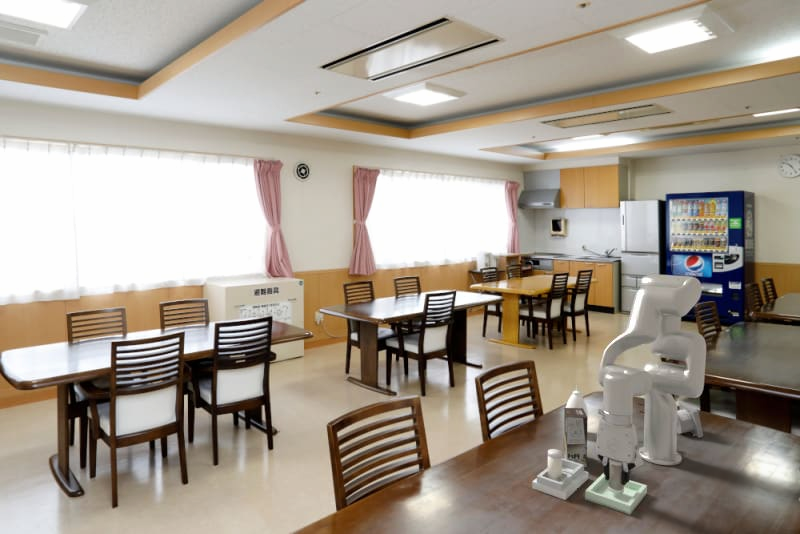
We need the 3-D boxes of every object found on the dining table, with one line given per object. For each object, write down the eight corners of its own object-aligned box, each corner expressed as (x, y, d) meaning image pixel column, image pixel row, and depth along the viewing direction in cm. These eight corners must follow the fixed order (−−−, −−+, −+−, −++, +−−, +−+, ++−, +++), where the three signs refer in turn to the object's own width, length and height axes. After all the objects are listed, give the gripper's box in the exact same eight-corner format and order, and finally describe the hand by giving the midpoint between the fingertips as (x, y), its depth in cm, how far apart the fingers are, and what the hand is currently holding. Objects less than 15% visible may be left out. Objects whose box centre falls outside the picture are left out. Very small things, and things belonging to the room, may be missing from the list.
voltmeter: (710, 434, 185) (711, 407, 184) (695, 442, 178) (695, 414, 177) (640, 413, 206) (640, 389, 206) (624, 419, 200) (624, 394, 199)
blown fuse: (611, 484, 146) (612, 454, 145) (626, 489, 143) (626, 458, 142) (606, 490, 143) (606, 459, 142) (621, 495, 140) (621, 463, 140)
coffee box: (587, 467, 160) (588, 417, 159) (566, 466, 162) (566, 416, 161) (583, 455, 169) (583, 407, 168) (562, 453, 171) (563, 406, 169)
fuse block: (556, 468, 160) (557, 434, 159) (588, 478, 154) (588, 443, 153) (532, 488, 148) (532, 451, 148) (565, 500, 142) (565, 461, 141)
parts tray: (604, 480, 152) (604, 472, 152) (646, 493, 144) (646, 485, 144) (585, 499, 142) (585, 490, 142) (629, 515, 134) (630, 505, 134)
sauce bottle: (568, 426, 193) (569, 380, 192) (590, 431, 189) (590, 383, 187) (562, 433, 187) (562, 385, 186) (583, 438, 182) (584, 389, 181)
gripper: (582, 414, 144) (581, 476, 146) (645, 429, 133) (643, 496, 135) (593, 406, 150) (592, 467, 151) (653, 420, 139) (652, 485, 140)
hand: (616, 480), depth 143 cm, fingers closed on blown fuse, 3 cm apart
